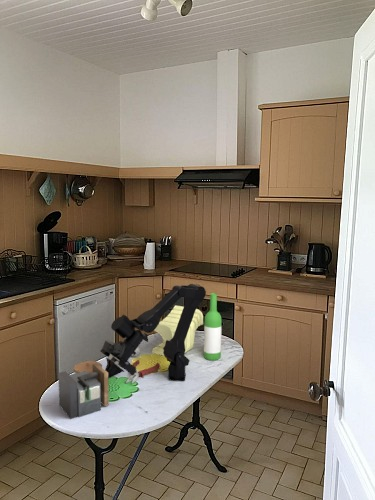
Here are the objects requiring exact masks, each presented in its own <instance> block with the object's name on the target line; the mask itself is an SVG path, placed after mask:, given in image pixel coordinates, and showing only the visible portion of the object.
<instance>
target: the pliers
mask: <svg viewBox="0 0 375 500" xmlns="http://www.w3.org/2000/svg"><path fill="white" fill-rule="evenodd" d="M132 365H133V366H134V367H135V368H136V372H135V374H134V375H133V376H132V375H131V374H130V375H129V377H128V378H127V380H126V381H125V384H128V383H129V382H131V385H132V384H134V383H135V382H136V381H137V380H139V378H142V379H143V378H145V376H147V375H150V374H153V373H156V372H158V370H159V369H160V368H161V364H160V363H159V362H157V363H155V365H153V366H151V367H148V368H145V369H142V370H139V371H138V370H137V367H138V366H139V365H140V359H136V361H135V362H133V363H132ZM159 367H160V368H159Z"/></svg>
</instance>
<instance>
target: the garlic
mask: <svg viewBox="0 0 375 500" xmlns="http://www.w3.org/2000/svg"><path fill="white" fill-rule="evenodd" d="M135 352H136V354H135V355H134V354H132V355H131V357H132V358H134V357H135V358H136V357H137V356H139V355H140V354H141V349H140V347H139V346H138V347H137V349H136V350H135Z"/></svg>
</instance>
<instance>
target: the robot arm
mask: <svg viewBox="0 0 375 500" xmlns="http://www.w3.org/2000/svg"><path fill="white" fill-rule="evenodd" d="M206 295H207V291H206V289H205V287H204V286H202V285H198V284H195V283H190V284H188V285H184V284H181V285H176V284H175V285H174V286H172V288H171V289H170V290H169V292H168V293H167V294H165V296H164V297H162V298H161V300H159V302H157V303H156V304H155V305H154V306H153V307H152V308H151V309H149V310H146V311H144V312H143V313H141V314H140V315H138V316H137V317H135V318H133V319H130V318H129V317H128V316H127V315H125V314H122V315H121V316H119V317H117V318H116V319H114V320H113V322H112V323H111V325H110V326H111V327H110V328H111V330H112V331H113V332H114V333H116V334H117V335H118V336H119V337H120V338H122V339H123V340H122V341H121V340H119V341H118V342H113V341H110V340H109V341H108V340H104V343H103V346H102V348H101V349H100V352H101V354H103V355H105V356H106V357H105V360H106V366H105V369H104V370H106V371H107V372H108V380H109V379H111V378H113V377H115V376H117V375H119V374H121V373H124V372H127V373H128V374H130V376H131V375H132V376H133V375H134V374H135V372H136V370H137V367H136V368H135V367H134V366H133V363H131V362H130V361H129V359H130V358H131V357H132V356H131V355H132V354H134V355H135V354H136V352H135V350H136V349H137V347H139V346H140V345H141V344H142V342H143V341H145V342H147V343H148V342H149V334H151V333H154V332H155V331H154V330H155V328H156V327H157V326H158V324H159V322H161V318H162V317H163V316H164V315H165V314H166V313H167V312H169V310H170V309H171V308H173V306H175V304H177V302H179V300H180V299H181V298H184V299H183V301H184V306H183V307H184V308H183V311H182V314H181V317H180V319H179V322H178V325H177V328H176V331H175V333H174V336H173V338H172V339H171V340H170V341H168V340H167V341H166V343H165V346H164V348H163V350H164V352H163V354H164V358H166V360H167V362H169V364H168V368H167V377H168V381H174V382H175V381H177V382H185V381H186V376H187V373H186V367H187V366H189V364H190V359H189V358H188V357H186V356H185V354H186V353H185V339H186V336H187V333H188V330H189V327H190V325H191V322H192V319H193V316H194V313H195V310H196V309H198V307H199V306H200V305H202V303H203V301H204V299H205V297H206ZM143 332H144V333H143Z"/></svg>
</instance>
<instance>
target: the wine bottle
mask: <svg viewBox="0 0 375 500" xmlns="http://www.w3.org/2000/svg"><path fill="white" fill-rule="evenodd" d="M209 296H210V297H209V298H210V301H209V311H208V312H207V313H206V314H205V316H204V324H203V326H204V327H203V328H204V330H203V331H204V333H203V336H204V338H203V356H204V358H205V359H206V360H208V361H218V360H219V359H221V357H222V316H221V313H220V312H218V307H217V303H218V295H217V293H214V292H213V293H212V292H211V293H210V295H209Z"/></svg>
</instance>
